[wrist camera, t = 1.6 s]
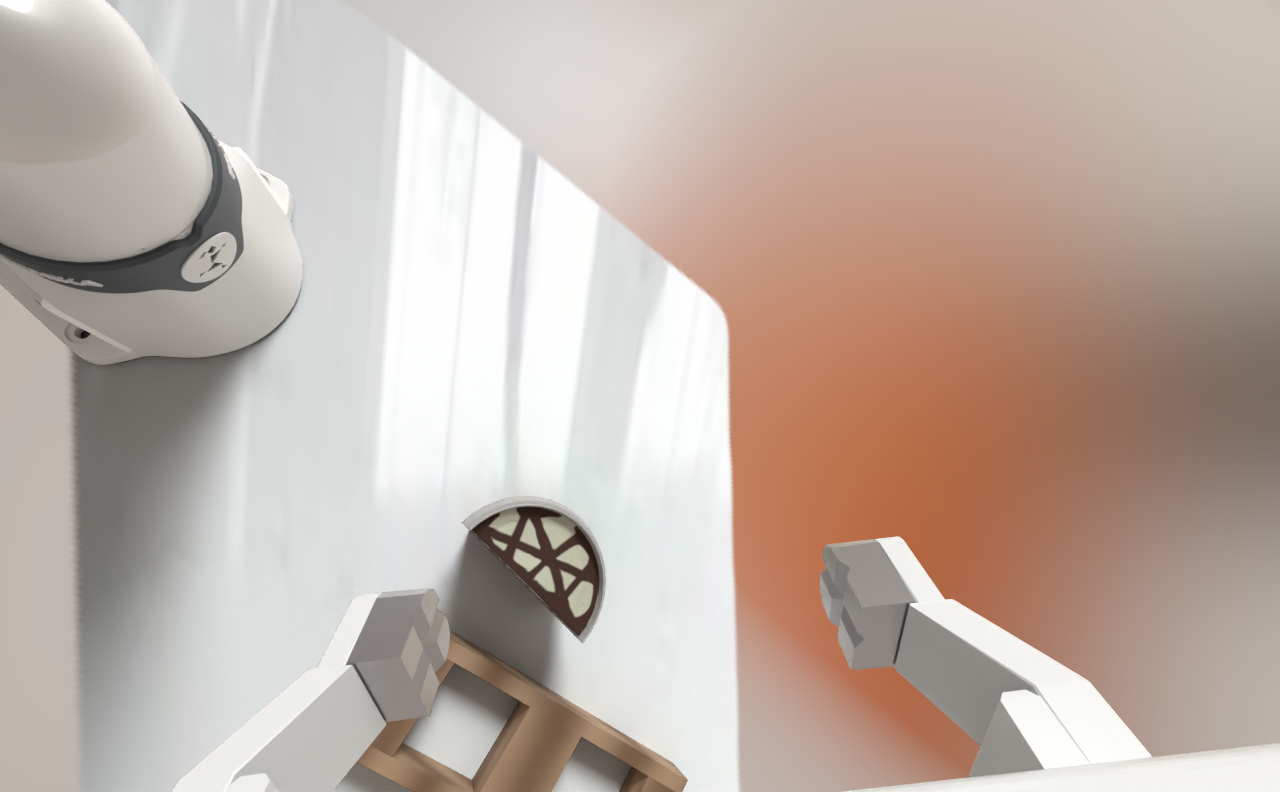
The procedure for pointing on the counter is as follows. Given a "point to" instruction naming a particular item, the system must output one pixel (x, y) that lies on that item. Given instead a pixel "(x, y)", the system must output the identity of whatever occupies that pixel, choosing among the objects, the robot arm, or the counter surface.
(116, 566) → the counter surface
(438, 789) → the socket rail
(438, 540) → the counter surface
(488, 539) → the food container
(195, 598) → the counter surface
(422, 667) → the robot arm
